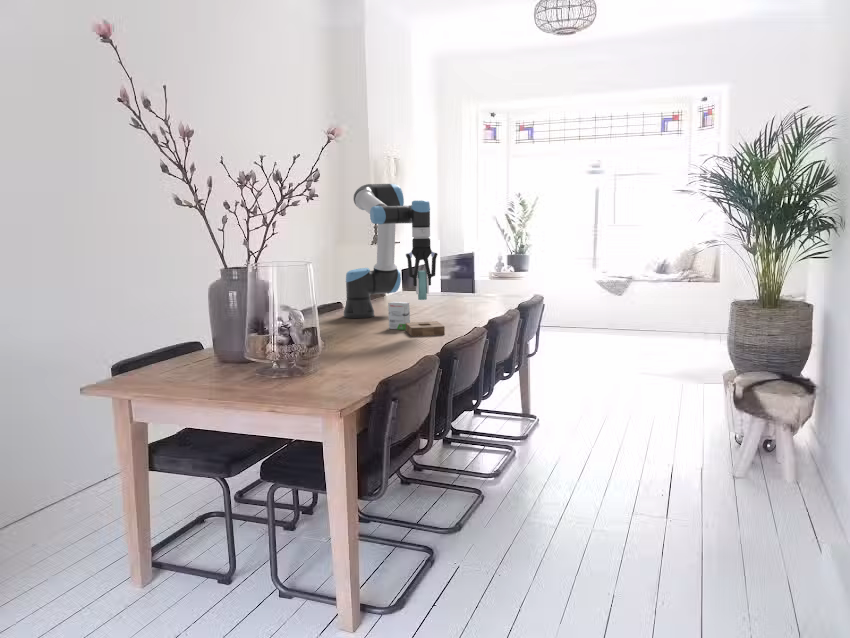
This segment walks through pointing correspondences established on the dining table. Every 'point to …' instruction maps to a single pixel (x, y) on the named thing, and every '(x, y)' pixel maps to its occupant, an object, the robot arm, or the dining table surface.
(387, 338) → the dining table surface
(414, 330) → the socket
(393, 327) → the ink box
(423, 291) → the peg
